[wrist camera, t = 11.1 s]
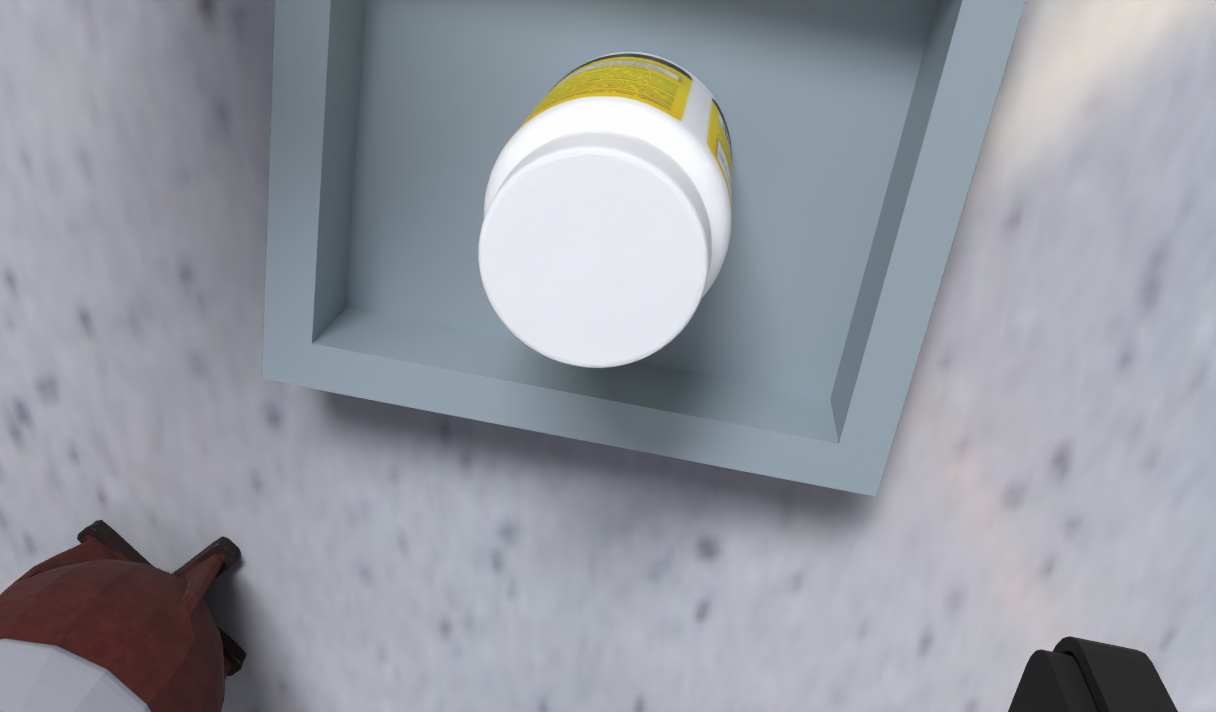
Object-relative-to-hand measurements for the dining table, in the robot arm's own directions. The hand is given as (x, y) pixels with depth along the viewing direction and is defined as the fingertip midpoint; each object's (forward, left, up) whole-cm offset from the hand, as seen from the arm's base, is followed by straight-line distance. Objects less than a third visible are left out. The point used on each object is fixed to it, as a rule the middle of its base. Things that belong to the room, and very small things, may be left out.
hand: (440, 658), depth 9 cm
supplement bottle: (0, 0, -19) cm, 19 cm away
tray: (0, 0, -19) cm, 19 cm away
